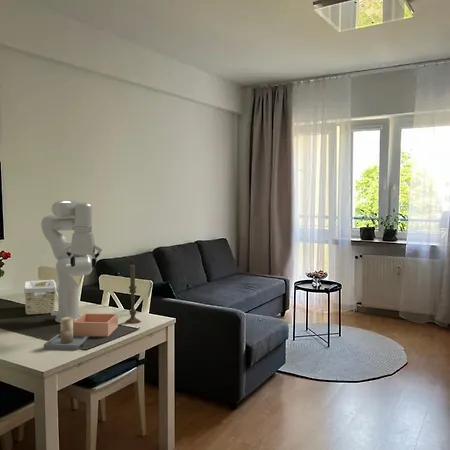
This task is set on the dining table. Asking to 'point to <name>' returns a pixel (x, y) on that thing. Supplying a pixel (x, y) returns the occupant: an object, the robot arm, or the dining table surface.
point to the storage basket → (40, 296)
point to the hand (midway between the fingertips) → (83, 266)
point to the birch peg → (66, 330)
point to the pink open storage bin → (95, 324)
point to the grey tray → (56, 344)
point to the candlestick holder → (132, 297)
